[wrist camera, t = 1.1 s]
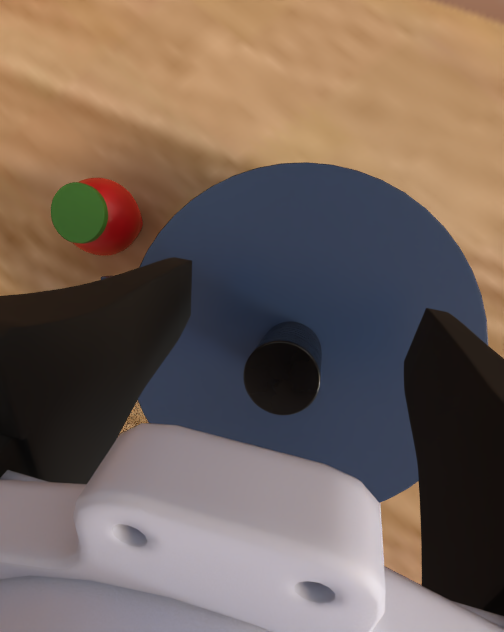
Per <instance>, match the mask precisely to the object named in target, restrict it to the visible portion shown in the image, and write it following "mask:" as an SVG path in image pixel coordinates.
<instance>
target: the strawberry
mask: <svg viewBox="0 0 504 632" xmlns="http://www.w3.org/2000/svg"><path fill="white" fill-rule="evenodd" d="M51 218H52V222H53V225H54V227H55V229H56V230H57V232H58V233H59V234H60V235H61V236H62V237H63V238H64V239H66V240H68V241H70V242H72V243H73V244H74V245H76V246H77V247H78V248H80V249H82V250H83V251H86V252H88V253H91V254H94V255H113V254H116V253H119V252H121V251H123V250H125V249H126V248H127V247H128V246H130V245H131V244H132V242H133V241H134V240H135V238H136V237H137V236H138V234H139V232H140V231H141V228H142V217H141V213H140V210H139V208H138V205H137V203H136V201H135V199H134V198H133V196H132V195H131V194H130V193H129V192H128V191H127V190H126V189H125V188H124V187H123V186H121V185H120V184H118V183H116V182H114V181H112V180H108V179H104V178H88V179H84V180H82V181H79V182H73V183H69V184H66V185H65V186H63V187H62V188H60V189H59V190H58V191H57V193H56V194H55V196H54V198H53V200H52V204H51Z"/></svg>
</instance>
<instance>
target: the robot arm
mask: <svg viewBox="0 0 504 632" xmlns="http://www.w3.org/2000/svg"><path fill="white" fill-rule="evenodd" d="M191 291H192V261H191V260H186V259H181V258H176V257H172V258H167V259H164V260H161V261H157V262H154V263H151V264H149V265H146V266H143V267H140V268H137V269H134V270H131V271H128V272H125V273H122V274H119V275H115V276H112V277H109V278H105V279H102V280H99V281H95V282H91V283H87V284H83V285H78V286H73V287H69V288H64V289H58V290H51V291H43V292H36V293H28V294H19V295H7V296H0V632H504V359H503V358H502V357H501V356H500V355H498V354H497V353H496V352H495V351H494V350H492V349H491V348H490V347H489V346H488V345H487V344H485V343H484V342H483V341H482V340H481V339H480V338H479V337H478V336H476V335H475V334H474V333H473V332H472V331H471V330H470V329H468V328H467V327H466V326H465V325H464V324H463V323H462V322H460V321H459V320H458V319H457V318H455V317H454V316H453V315H451V314H450V313H448V312H445V311H440V310H435V309H430V308H426V309H425V312H424V314H423V317H422V319H421V321H420V324H419V326H418V329H417V331H416V333H415V336H414V338H413V341H412V343H411V346H410V348H409V350H408V353H407V355H406V358H405V360H404V392H405V398H406V403H407V409H408V414H409V420H410V425H411V430H412V436H413V441H414V446H415V451H416V458H417V465H418V477H419V492H420V512H421V540H422V586H421V585H420V584H418V583H416V582H414V581H412V580H410V579H408V578H406V577H404V576H402V575H400V574H398V573H396V572H395V571H393V570H391V569H389V568H387V567H385V566H384V556H383V539H382V522H381V505H380V503H379V502H378V501H377V500H376V498H375V497H374V496H373V495H372V494H371V493H370V491H369V490H368V489H367V488H366V487H365V486H364V484H363V483H362V482H361V481H360V480H358V479H356V478H355V477H352V476H350V475H348V474H346V473H344V472H341V471H339V470H337V469H335V468H333V467H331V466H328V465H326V464H323V463H319V462H315V461H312V460H308V459H304V458H300V457H296V456H292V455H289V454H285V453H281V452H277V451H273V450H270V449H266V448H262V447H258V446H254V445H250V444H247V443H243V442H239V441H235V440H231V439H227V438H224V437H220V436H216V435H212V434H208V433H205V432H201V431H197V430H193V429H189V428H185V427H182V426H178V425H167V424H152V423H141V424H139V425H137V426H135V427H133V428H131V429H129V430H127V431H125V432H123V433H121V434H120V435H119V433H120V431H121V429H122V427H123V425H124V424H125V422H126V420H127V418H128V416H129V414H130V412H131V411H132V409H133V407H134V405H135V403H136V401H137V400H138V398H139V396H140V395H141V393H142V391H143V390H144V388H145V387H146V385H147V384H148V382H149V381H150V380H151V378H152V377H153V375H154V374H155V373H156V371H157V370H158V368H159V367H160V366H161V364H162V363H163V361H164V360H165V358H166V357H167V356H168V354H169V353H170V351H171V350H172V348H173V347H174V346H175V344H176V343H177V341H178V340H179V338H180V336H181V334H182V332H183V330H184V328H185V326H186V324H187V322H188V320H189V318H190V316H191ZM118 435H119V437H118ZM117 437H118V438H117ZM116 439H117V440H116Z"/></svg>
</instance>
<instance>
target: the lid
mask: <svg viewBox="0 0 504 632" xmlns="http://www.w3.org/2000/svg"><path fill="white" fill-rule="evenodd" d="M172 257H176V258H181V259H186V260H191V261H192V291H191V316H190V318H189V320H188V322H187V324H186V326H185V328H184V330H183V332H182V334H181V336H180V338H179V340H178V341H177V343H176V344H175V346H174V347H173V348H172V350H171V351H170V353H169V354H168V356H167V357H166V358H165V360H164V361H163V363H162V364H161V366H160V367H159V368H158V370H157V371H156V373H155V374H154V375H153V377H152V378H151V380H150V381H149V382H148V384H147V385H146V387H145V388H144V390H143V391H142V393H141V395H140V396H139V398H138V401H139V404H140V406H141V408H142V411H143V413H144V415H145V417H146V419H147V420H148V422H149V423H152V424H167V425H178V426H182V427H185V428H189V429H193V430H197V431H201V432H205V433H208V434H212V435H216V436H220V437H224V438H227V439H231V440H235V441H239V442H243V443H247V444H250V445H254V446H258V447H262V448H266V449H270V450H273V451H277V452H281V453H285V454H289V455H292V456H296V457H300V458H304V459H308V460H312V461H315V462H319V463H323V464H326V465H328V466H331V467H333V468H335V469H337V470H339V471H341V472H344V473H346V474H348V475H350V476H352V477H355V478H356V479H358V480H360V481H361V482H362V483H363V484H364V486H365V487H366V488H367V489H368V490H369V491H370V493H371V494H372V495H373V496H374V497H375V498H376V500H377V501H378V502H379V503H380V502H382V501H385V500H387V499H389V498H391V497H393V496H395V495H397V494H399V493H400V492H402V491H404V490H406V489H408V488H409V487H411V486H412V485H413V484H415V483H416V482H417V481H419V477H418V465H417V458H416V451H415V446H414V441H413V436H412V430H411V425H410V420H409V414H408V409H407V403H406V398H405V392H404V360H405V358H406V355H407V353H408V350H409V348H410V346H411V343H412V341H413V338H414V336H415V333H416V331H417V329H418V326H419V324H420V321H421V319H422V317H423V314H424V312H425V309H426V308H430V309H435V310H440V311H445V312H448V313H450V314H451V315H453V316H454V317H455V318H457V319H458V320H459V321H460V322H462V323H463V324H464V325H465V326H466V327H467V328H468V329H470V330H471V331H472V332H473V333H474V334H475V335H476V336H478V337H479V338H480V339H481V340H482V341H483V342H484V343H485V344H487V345H488V333H487V319H486V315H485V310H484V305H483V300H482V295H481V293H480V290H479V287H478V285H477V282H476V279H475V276H474V274H473V271H472V269H471V267H470V266H469V264H468V262H467V260H466V258H465V256H464V254H463V253H462V251H461V249H460V247H459V246H458V245H457V243H456V242H455V241H454V239H453V238H452V237H451V235H450V234H449V233H448V231H447V230H446V229H445V227H444V226H443V225H442V224H441V223H440V222H439V221H438V220H437V219H436V218H435V217H434V216H433V215H432V214H431V213H430V212H429V211H428V210H427V209H426V208H424V207H423V206H422V205H420V204H419V203H418V202H416V201H415V200H414V199H412V198H411V197H410V196H408V195H407V194H406V193H404V192H403V191H401V190H399V189H397V188H395V187H393V186H392V185H390V184H388V183H386V182H384V181H383V180H380V179H378V178H375V177H373V176H370V175H367V174H365V173H362V172H359V171H357V170H352V169H348V168H344V167H339V166H335V165H329V164H318V163H285V164H277V165H271V166H266V167H260V168H256V169H253V170H250V171H247V172H244V173H241V174H238V175H235V176H232V177H230V178H228V179H226V180H224V181H222V182H220V183H218V184H216V185H214V186H212V187H210V188H209V189H207V190H206V191H204V192H203V193H201V194H200V195H198V196H197V197H195V198H194V199H192V200H191V201H190V202H189V203H188V204H186V205H185V206H184V207H183V208H182V209H181V210H180V211H179V212H177V213H176V214H175V215H174V216H173V217H172V219H171V220H170V221H169V222H168V223H167V224H166V225H165V227H164V228H163V229H162V230H161V231H160V233H159V234H158V236H157V237H156V239H155V240H154V242H153V243H152V245H151V246H150V248H149V249H148V251H147V253H146V255H145V257H144V259H143V261H142V263H141V265H140V267H143V266H146V265H149V264H151V263H154V262H157V261H161V260H164V259H167V258H172ZM140 267H139V268H140Z"/></svg>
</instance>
